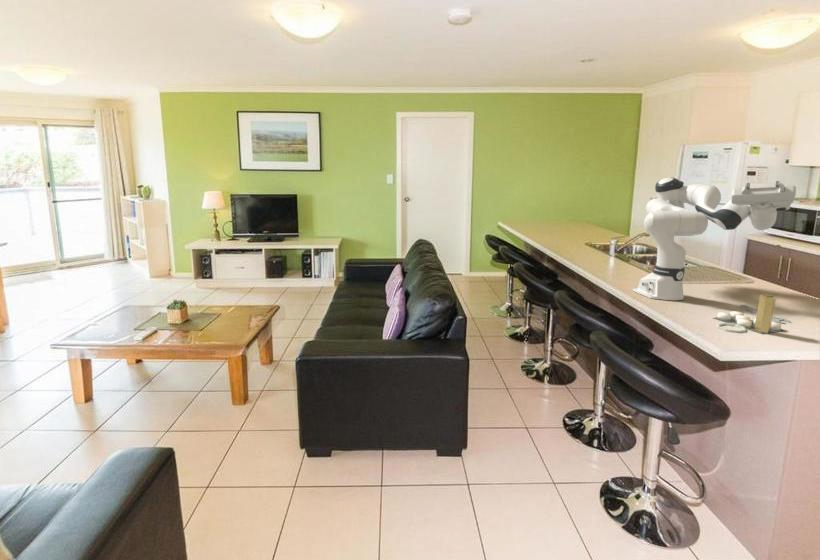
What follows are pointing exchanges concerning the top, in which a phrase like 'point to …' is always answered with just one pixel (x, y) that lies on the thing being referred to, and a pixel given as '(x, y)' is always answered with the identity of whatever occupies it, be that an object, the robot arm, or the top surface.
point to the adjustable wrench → (774, 319)
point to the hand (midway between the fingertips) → (762, 183)
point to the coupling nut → (765, 313)
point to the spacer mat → (745, 321)
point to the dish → (730, 329)
